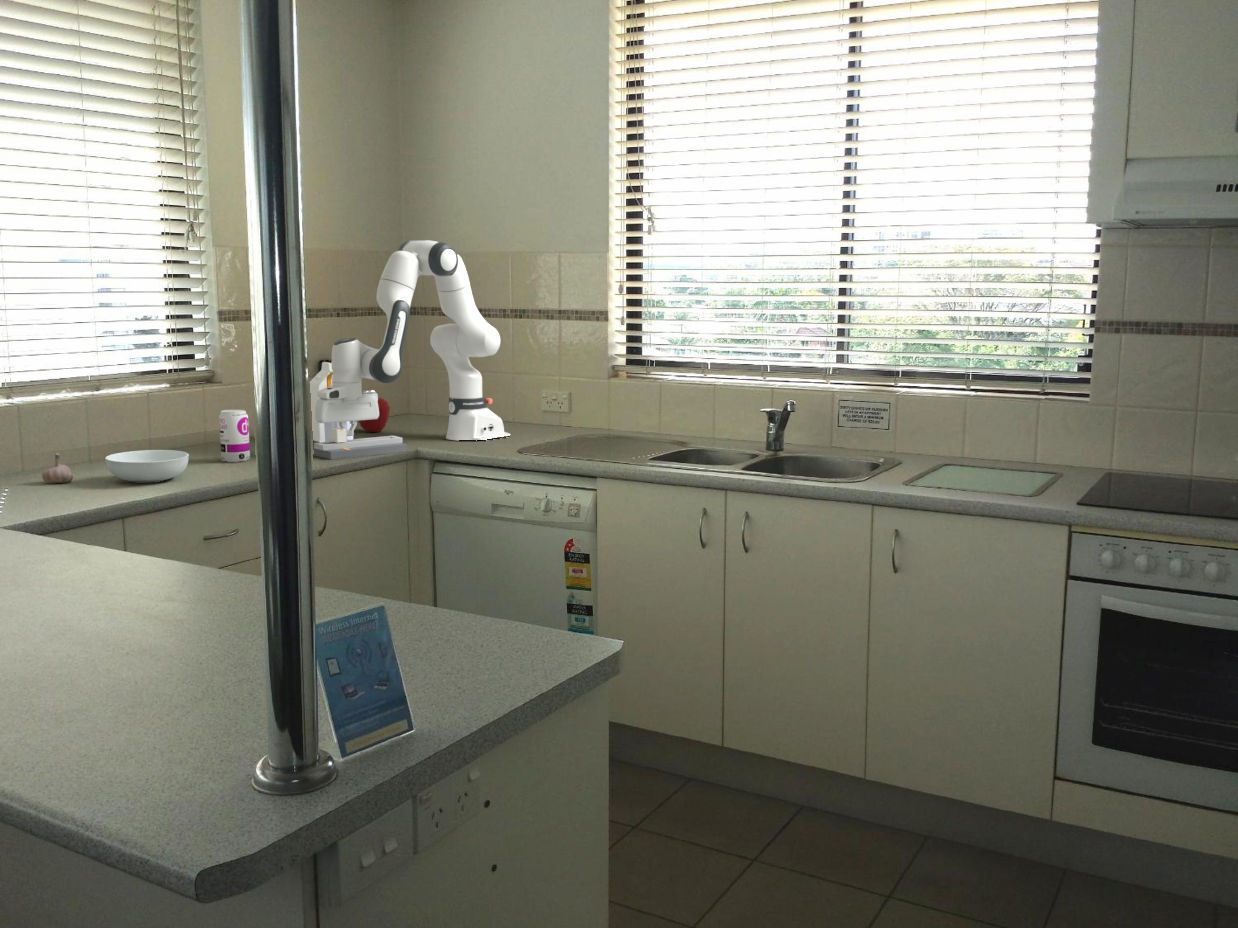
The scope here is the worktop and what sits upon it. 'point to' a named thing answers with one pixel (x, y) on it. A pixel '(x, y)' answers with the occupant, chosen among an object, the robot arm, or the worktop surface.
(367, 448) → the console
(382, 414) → the apple
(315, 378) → the milk
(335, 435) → the white small block
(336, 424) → the soap bottle
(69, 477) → the garlic bulb
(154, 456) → the serving bowl
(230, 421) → the supplement can
